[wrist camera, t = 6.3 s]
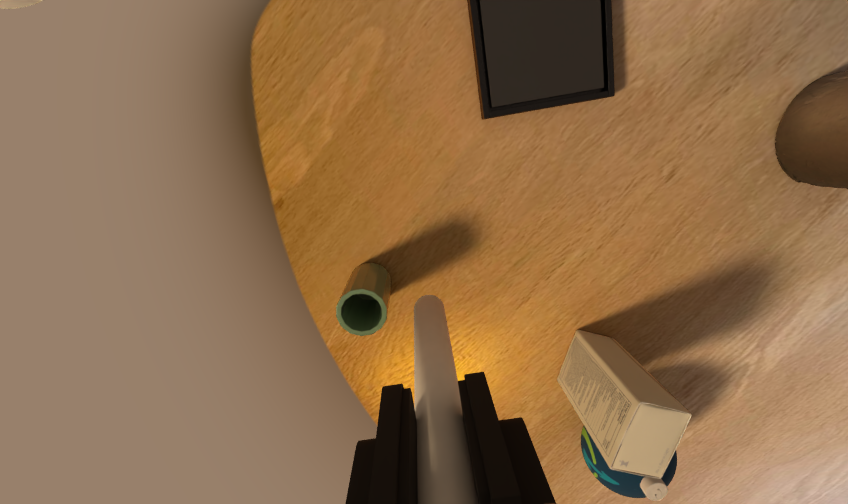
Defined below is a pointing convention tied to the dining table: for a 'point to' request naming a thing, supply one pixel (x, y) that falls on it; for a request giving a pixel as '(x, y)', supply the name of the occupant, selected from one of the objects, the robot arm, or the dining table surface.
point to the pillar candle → (816, 134)
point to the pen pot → (365, 300)
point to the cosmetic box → (622, 405)
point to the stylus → (439, 412)
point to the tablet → (492, 112)
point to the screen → (541, 48)
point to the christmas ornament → (625, 474)
